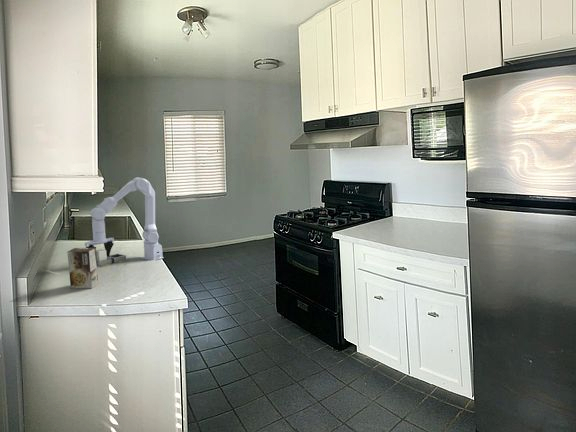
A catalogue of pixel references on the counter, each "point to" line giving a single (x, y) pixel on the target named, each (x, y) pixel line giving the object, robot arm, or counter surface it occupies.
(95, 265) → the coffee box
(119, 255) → the panel
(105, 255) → the plug
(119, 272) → the counter surface
